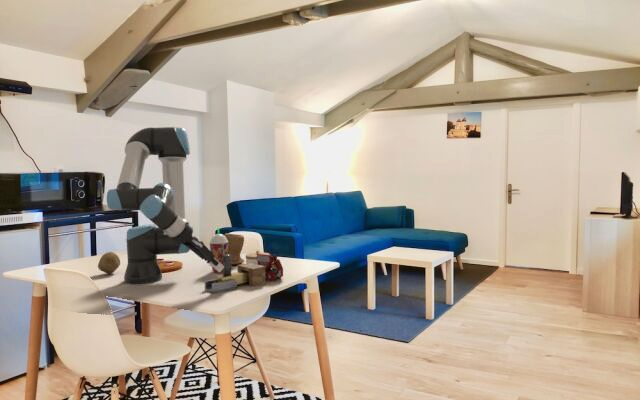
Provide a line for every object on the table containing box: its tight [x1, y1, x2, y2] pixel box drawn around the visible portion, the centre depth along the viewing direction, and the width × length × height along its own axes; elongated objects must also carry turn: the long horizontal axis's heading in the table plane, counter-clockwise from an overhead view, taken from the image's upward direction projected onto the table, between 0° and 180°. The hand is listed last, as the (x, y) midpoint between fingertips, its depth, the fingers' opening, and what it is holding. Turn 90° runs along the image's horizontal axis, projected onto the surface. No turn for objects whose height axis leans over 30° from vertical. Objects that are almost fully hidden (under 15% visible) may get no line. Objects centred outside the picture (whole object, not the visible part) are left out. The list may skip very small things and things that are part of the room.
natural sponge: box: [97, 251, 121, 274], centre depth 211 cm, size 9×9×10 cm
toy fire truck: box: [257, 254, 284, 282], centre depth 193 cm, size 7×12×10 cm, turn 60°
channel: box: [204, 278, 238, 294], centre depth 178 cm, size 7×10×4 cm, turn 132°
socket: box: [236, 263, 267, 287], centre depth 187 cm, size 11×6×7 cm, turn 42°
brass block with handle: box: [216, 254, 249, 285], centre depth 181 cm, size 4×13×12 cm, turn 132°
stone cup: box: [223, 233, 245, 265], centre depth 228 cm, size 15×12×15 cm
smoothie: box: [209, 227, 228, 274], centre depth 210 cm, size 8×8×20 cm
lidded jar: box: [245, 250, 271, 265], centre depth 208 cm, size 11×11×9 cm
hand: (221, 269), depth 177 cm, fingers closed
